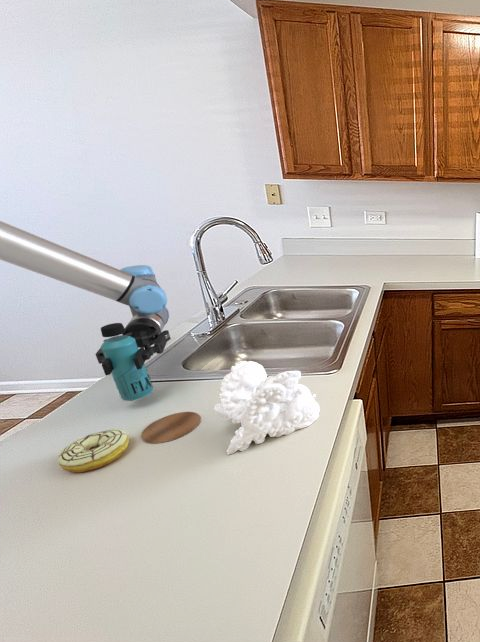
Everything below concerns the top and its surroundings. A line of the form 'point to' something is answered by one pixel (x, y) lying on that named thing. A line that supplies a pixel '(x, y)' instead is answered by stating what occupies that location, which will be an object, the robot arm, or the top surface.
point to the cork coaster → (171, 427)
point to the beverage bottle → (125, 363)
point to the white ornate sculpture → (264, 404)
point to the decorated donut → (93, 451)
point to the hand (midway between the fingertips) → (121, 366)
